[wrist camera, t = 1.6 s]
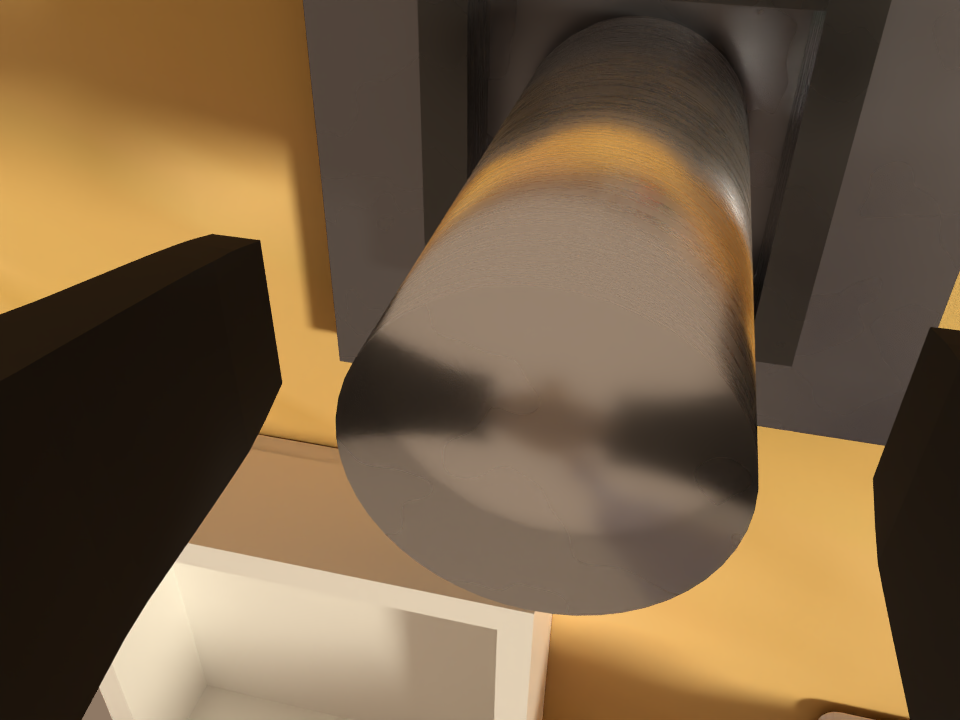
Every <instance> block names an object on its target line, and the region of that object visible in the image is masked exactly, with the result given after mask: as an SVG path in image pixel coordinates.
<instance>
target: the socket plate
mask: <svg viewBox="0 0 960 720" xmlns="http://www.w3.org/2000/svg"><path fill="white" fill-rule="evenodd" d="M303 6H304V16H305V26H306V35H307V45H308V55H309V65H310V74H311V84H312V94H313V104H314V113H315V123H316V133H317V143H318V152H319V162H320V172H321V181H322V191H323V201H324V211H325V220H326V230H327V240H328V250H329V259H330V269H331V279H332V289H333V298H334V308H335V318H336V327H337V337H338V347H339V357H340V361H344V362H351V363H353V361H354V360H355V358H356V356H357V355H358V353H359V352H360V350H361V348H362V347H363V345H364V344H365V342H366V340H367V339H368V337H369V336H370V334H371V333H372V331H373V329H374V328H375V326H376V325H377V323H378V321H379V320H380V318H381V317H382V315H383V313H384V312H385V310H386V309H387V307H388V306H389V304H390V302H391V301H392V299H393V298H394V296H395V294H396V293H397V291H398V290H399V288H400V286H401V285H402V283H403V282H404V280H405V278H406V277H407V275H408V274H409V272H410V271H411V269H412V267H413V266H414V264H415V263H416V261H417V259H418V258H419V256H420V255H421V253H422V251H423V250H424V248H425V247H426V245H427V244H428V242H429V240H430V239H431V237H432V236H433V234H434V232H435V231H436V229H437V228H438V226H439V224H440V223H441V221H442V220H443V218H444V216H445V215H446V213H447V212H448V210H449V209H450V207H451V205H452V204H453V202H454V201H455V199H456V197H457V196H458V194H459V193H460V191H461V189H462V188H463V186H464V185H465V183H466V182H467V180H468V178H469V177H470V175H471V174H472V172H473V170H474V169H475V167H476V166H477V164H478V162H479V161H480V159H481V158H482V156H483V154H484V153H485V151H486V150H487V148H488V147H489V145H490V143H491V142H492V140H493V139H494V137H495V135H496V134H497V132H498V131H499V129H500V127H501V126H502V124H503V123H504V121H505V120H506V118H507V116H508V115H509V113H510V112H511V110H512V108H513V107H514V105H515V104H516V102H517V100H518V99H519V97H520V96H521V94H522V92H523V91H524V89H525V88H526V86H527V85H528V83H529V81H530V80H531V78H532V77H533V75H534V73H535V72H536V70H537V69H538V67H539V66H540V65H541V63H542V62H543V61H544V59H545V58H546V57H547V56H548V55H549V54H550V53H551V52H552V51H553V50H554V49H555V48H556V46H558V45H559V44H560V43H562V42H563V41H564V40H565V39H567V38H568V37H569V36H571V35H573V34H574V33H576V32H578V31H579V30H581V29H583V28H585V27H588V26H590V25H593V24H595V23H598V22H601V21H605V20H609V19H612V18H620V17H627V16H644V17H652V18H659V19H663V20H667V21H670V22H674V23H677V24H679V25H681V26H683V27H686V28H688V29H690V30H692V31H693V32H695V33H697V34H698V35H700V36H701V37H703V38H704V39H706V40H707V41H708V42H709V43H710V44H712V45H713V46H714V47H715V48H716V49H717V50H718V51H719V52H720V53H721V54H722V55H723V57H724V58H725V59H726V60H727V61H728V63H729V64H730V66H731V67H732V69H733V70H734V72H735V74H736V76H737V78H738V80H739V82H740V84H741V86H742V89H743V93H744V96H745V99H746V104H747V110H748V117H749V154H750V190H751V227H752V263H753V300H754V336H755V373H756V409H757V426H762V427H768V428H775V429H781V430H788V431H794V432H800V433H807V434H813V435H820V436H826V437H833V438H839V439H845V440H852V441H858V442H865V443H871V444H878V445H884V446H885V445H886V443H887V440H888V437H889V435H890V432H891V429H892V427H893V424H894V421H895V419H896V416H897V413H898V411H899V408H900V405H901V403H902V400H903V398H904V395H905V392H906V390H907V387H908V384H909V382H910V379H911V376H912V374H913V371H914V368H915V366H916V363H917V360H918V358H919V355H920V352H921V350H922V347H923V344H924V342H925V339H926V336H927V334H928V331H929V328H930V327H936V328H938V326H939V323H940V321H941V318H942V316H943V313H944V310H945V308H946V305H947V302H948V300H949V297H950V295H951V292H952V289H953V287H954V284H955V281H956V279H957V276H958V274H959V271H960V0H303Z"/></svg>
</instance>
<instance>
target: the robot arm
mask: <svg viewBox="0 0 960 720" xmlns="http://www.w3.org/2000/svg"><path fill="white" fill-rule="evenodd" d="M281 385H282V378H281V372H280V365H279V359H278V352H277V346H276V339H275V333H274V327H273V320H272V314H271V307H270V301H269V294H268V288H267V282H266V275H265V269H264V262H263V256H262V249H261V243H260V240H254V239H246V238H238V237H231V236H223V235H215V234H210V235H207V236H203V237H199V238H196V239H192V240H189V241H186V242H183V243H180V244H177V245H175V246H172V247H169V248H166V249H164V250H161V251H158V252H156V253H153V254H151V255H148V256H146V257H143V258H141V259H138V260H136V261H133V262H131V263H128V264H126V265H123V266H121V267H118V268H116V269H114V270H111V271H109V272H106V273H104V274H101V275H99V276H96V277H94V278H92V279H89V280H87V281H84V282H82V283H79V284H77V285H74V286H72V287H70V288H67V289H65V290H62V291H60V292H57V293H55V294H52V295H50V296H48V297H45V298H43V299H40V300H38V301H35V302H32V303H30V304H27V305H24V306H22V307H19V308H16V309H14V310H11V311H8V312H6V313H3V314H0V720H82V718H83V716H84V714H85V712H86V710H87V708H88V706H89V705H90V703H91V701H92V699H93V697H94V695H95V694H96V692H97V690H98V688H99V686H100V684H101V682H102V681H103V679H104V677H105V675H106V673H107V671H108V669H109V668H110V666H111V664H112V662H113V660H114V658H115V656H116V655H117V653H118V651H119V649H120V647H121V645H122V643H123V642H124V640H125V638H126V636H127V635H128V633H129V631H130V630H131V628H132V626H133V625H134V623H135V622H136V620H137V618H138V617H139V615H140V614H141V612H142V610H143V609H144V607H145V606H146V604H147V602H148V601H149V599H150V598H151V596H152V595H153V593H154V592H155V591H156V589H157V588H158V586H159V585H160V583H161V582H162V580H163V579H164V577H165V576H166V574H167V573H168V572H169V570H170V569H171V567H172V566H173V564H174V563H175V561H176V560H177V558H178V557H179V555H180V554H181V553H182V551H183V550H184V548H185V547H186V545H187V544H188V542H189V541H190V539H191V538H192V536H193V535H194V534H195V532H196V531H197V529H198V528H199V526H200V525H201V523H202V522H203V520H204V519H205V518H206V516H207V515H208V513H209V512H210V510H211V509H212V507H213V506H214V504H215V503H216V501H217V500H218V498H219V497H220V495H221V494H222V492H223V491H224V489H225V488H226V486H227V485H228V483H229V482H230V480H231V479H232V477H233V476H234V474H235V473H236V471H237V470H238V468H239V467H240V465H241V464H242V462H243V461H244V459H245V458H246V456H247V455H248V453H249V451H250V450H251V448H252V446H253V444H254V442H255V440H256V438H257V436H258V434H259V432H260V430H261V428H262V426H263V424H264V422H265V420H266V418H267V415H268V413H269V411H270V409H271V407H272V404H273V402H274V400H275V398H276V396H277V394H278V391H279V389H280V387H281ZM873 489H874V511H875V530H876V544H877V557H878V566H879V572H880V577H881V582H882V587H883V592H884V597H885V602H886V607H887V612H888V617H889V622H890V627H891V632H892V636H893V641H894V646H895V651H896V655H897V660H898V665H899V669H900V674H901V679H902V684H903V688H904V693H905V698H906V702H907V707H908V712H909V717H910V720H960V331H959V330H951V329H943V328H936V327H930V328H929V331H928V334H927V336H926V339H925V342H924V344H923V347H922V350H921V352H920V355H919V358H918V360H917V363H916V366H915V368H914V371H913V374H912V376H911V379H910V382H909V384H908V387H907V390H906V392H905V395H904V398H903V400H902V403H901V405H900V408H899V411H898V413H897V416H896V419H895V421H894V424H893V427H892V429H891V432H890V435H889V437H888V440H887V443H886V445H885V448H884V451H883V453H882V456H881V459H880V461H879V464H878V467H877V469H876V472H875V475H874V477H873ZM818 720H874V719H870V718H865V717H860V716H856V715H851V714H846V713H841V712H829V713H826V714H824V715H822V716H821V717H820V718H819V719H818Z"/></svg>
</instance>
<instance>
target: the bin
mask: <svg viewBox="0 0 960 720" xmlns="http://www.w3.org/2000/svg"><path fill="white" fill-rule="evenodd" d="M551 621H552V614H549V613H543V612H537V611H531V610H525V609H521V608H517V607H513V606H509V605H505V604H502V603H499V602H496V601H493V600H490V599H487V598H484V597H481V596H479V595H476V594H474V593H472V592H469V591H467V590H465V589H462V588H460V587H458V586H456V585H454V584H452V583H450V582H449V581H447V580H445V579H443V578H441V577H439V576H438V575H436V574H434V573H433V572H431V571H430V570H428V569H427V568H425V567H424V566H422V565H421V564H419V563H418V562H416V561H415V560H414V559H413V558H411V557H410V556H409V555H408V554H406V553H405V552H404V551H403V550H401V549H400V548H399V547H398V546H397V545H396V544H395V543H394V542H393V541H392V540H391V539H390V538H389V537H388V536H386V535H385V534H384V533H383V532H382V530H381V529H380V528H379V527H378V526H377V524H376V523H375V522H374V521H373V520H372V518H371V517H370V516H369V515H368V513H367V512H366V510H365V509H364V507H363V506H362V504H361V503H360V501H359V500H358V498H357V497H356V495H355V493H354V491H353V489H352V487H351V485H350V483H349V481H348V479H347V476H346V473H345V471H344V468H343V465H342V462H341V459H340V454H339V449H337V448H332V447H326V446H320V445H315V444H309V443H303V442H298V441H292V440H286V439H281V438H275V437H269V436H264V435H258V436H257V438H256V440H255V442H254V444H253V446H252V448H251V450H250V451H249V453H248V455H247V456H246V458H245V459H244V461H243V462H242V464H241V465H240V467H239V468H238V470H237V471H236V473H235V474H234V476H233V477H232V479H231V480H230V482H229V483H228V485H227V486H226V488H225V489H224V491H223V492H222V494H221V495H220V497H219V498H218V500H217V501H216V503H215V504H214V506H213V507H212V509H211V510H210V512H209V513H208V515H207V516H206V518H205V519H204V520H203V522H202V523H201V525H200V526H199V528H198V529H197V531H196V532H195V534H194V535H193V536H192V538H191V539H190V541H189V542H188V544H187V545H186V547H185V548H184V550H183V551H182V553H181V554H180V555H179V557H178V558H177V560H176V561H175V563H174V564H173V566H172V567H171V569H170V570H169V572H168V573H167V574H166V576H165V577H164V579H163V580H162V582H161V583H160V585H159V586H158V588H157V589H156V591H155V592H154V593H153V595H152V596H151V598H150V599H149V601H148V602H147V604H146V606H145V607H144V609H143V610H142V612H141V614H140V615H139V617H138V618H137V620H136V622H135V623H134V625H133V626H132V628H131V630H130V631H129V633H128V635H127V636H126V638H125V640H124V642H123V643H122V645H121V647H120V649H119V651H118V653H117V655H116V656H115V658H114V660H113V662H112V664H111V666H110V668H109V669H108V671H107V673H106V675H105V677H104V679H103V681H102V682H101V684H100V686H99V688H100V691H101V693H102V696H103V698H104V701H105V703H106V705H107V708H108V710H109V713H110V715H111V717H112V720H542V719H543V708H544V697H545V687H546V676H547V665H548V654H549V643H550V632H551Z"/></svg>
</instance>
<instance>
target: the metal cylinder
mask: <svg viewBox="0 0 960 720" xmlns="http://www.w3.org/2000/svg"><path fill="white" fill-rule="evenodd" d="M336 439H337V444H338V449H339V454H340V459H341V462H342V465H343V468H344V471H345V473H346V476H347V479H348V481H349V483H350V485H351V487H352V489H353V491H354V493H355V495H356V497H357V498H358V500H359V501H360V503H361V504H362V506H363V507H364V509H365V510H366V512H367V513H368V515H369V516H370V517H371V518H372V520H373V521H374V522H375V523H376V524H377V526H378V527H379V528H380V529H381V530H382V532H383V533H384V534H385V535H386V536H388V537H389V538H390V539H391V540H392V541H393V542H394V543H395V544H396V545H397V546H398V547H399V548H400V549H401V550H403V551H404V552H405V553H406V554H408V555H409V556H410V557H411V558H413V559H414V560H415V561H416V562H418V563H419V564H421V565H422V566H424V567H425V568H427V569H428V570H430V571H431V572H433V573H434V574H436V575H438V576H439V577H441V578H443V579H445V580H447V581H449V582H450V583H452V584H454V585H456V586H458V587H460V588H462V589H465V590H467V591H469V592H472V593H474V594H476V595H479V596H481V597H484V598H487V599H490V600H493V601H496V602H499V603H502V604H505V605H509V606H513V607H517V608H521V609H525V610H531V611H537V612H543V613H549V614H561V615H605V614H614V613H623V612H627V611H632V610H637V609H641V608H646V607H649V606H652V605H655V604H658V603H661V602H664V601H667V600H669V599H671V598H673V597H676V596H678V595H680V594H682V593H684V592H686V591H688V590H690V589H691V588H693V587H694V586H696V585H698V584H699V583H701V582H702V581H704V580H705V579H707V578H708V577H709V576H710V575H711V574H713V573H714V572H715V571H716V570H717V569H718V568H720V567H721V566H722V565H723V564H724V563H725V561H726V560H727V559H728V558H729V557H730V556H731V554H732V553H733V552H734V551H735V550H736V548H737V547H738V545H739V543H740V542H741V540H742V538H743V537H744V535H745V533H746V532H747V529H748V527H749V524H750V521H751V519H752V516H753V513H754V511H755V505H756V499H757V494H758V446H757V409H756V373H755V336H754V300H753V263H752V227H751V190H750V154H749V117H748V110H747V104H746V99H745V96H744V93H743V89H742V86H741V84H740V82H739V80H738V78H737V76H736V74H735V72H734V70H733V69H732V67H731V66H730V64H729V63H728V61H727V60H726V59H725V58H724V57H723V55H722V54H721V53H720V52H719V51H718V50H717V49H716V48H715V47H714V46H713V45H712V44H710V43H709V42H708V41H707V40H706V39H704V38H703V37H701V36H700V35H698V34H697V33H695V32H693V31H692V30H690V29H688V28H686V27H683V26H681V25H679V24H677V23H674V22H670V21H667V20H663V19H659V18H652V17H644V16H627V17H620V18H612V19H609V20H605V21H601V22H598V23H595V24H593V25H590V26H588V27H585V28H583V29H581V30H579V31H578V32H576V33H574V34H573V35H571V36H569V37H568V38H567V39H565V40H564V41H563V42H562V43H560V44H559V45H558V46H556V48H555V49H554V50H553V51H552V52H551V53H550V54H549V55H548V56H547V57H546V58H545V59H544V61H543V62H542V63H541V65H540V66H539V67H538V69H537V70H536V72H535V73H534V75H533V77H532V78H531V80H530V81H529V83H528V85H527V86H526V88H525V89H524V91H523V92H522V94H521V96H520V97H519V99H518V100H517V102H516V104H515V105H514V107H513V108H512V110H511V112H510V113H509V115H508V116H507V118H506V120H505V121H504V123H503V124H502V126H501V127H500V129H499V131H498V132H497V134H496V135H495V137H494V139H493V140H492V142H491V143H490V145H489V147H488V148H487V150H486V151H485V153H484V154H483V156H482V158H481V159H480V161H479V162H478V164H477V166H476V167H475V169H474V170H473V172H472V174H471V175H470V177H469V178H468V180H467V182H466V183H465V185H464V186H463V188H462V189H461V191H460V193H459V194H458V196H457V197H456V199H455V201H454V202H453V204H452V205H451V207H450V209H449V210H448V212H447V213H446V215H445V216H444V218H443V220H442V221H441V223H440V224H439V226H438V228H437V229H436V231H435V232H434V234H433V236H432V237H431V239H430V240H429V242H428V244H427V245H426V247H425V248H424V250H423V251H422V253H421V255H420V256H419V258H418V259H417V261H416V263H415V264H414V266H413V267H412V269H411V271H410V272H409V274H408V275H407V277H406V278H405V280H404V282H403V283H402V285H401V286H400V288H399V290H398V291H397V293H396V294H395V296H394V298H393V299H392V301H391V302H390V304H389V306H388V307H387V309H386V310H385V312H384V313H383V315H382V317H381V318H380V320H379V321H378V323H377V325H376V326H375V328H374V329H373V331H372V333H371V334H370V336H369V337H368V339H367V340H366V342H365V344H364V345H363V347H362V348H361V350H360V352H359V353H358V355H357V356H356V358H355V360H354V361H353V363H352V365H351V367H350V369H349V371H348V373H347V375H346V377H345V379H344V382H343V385H342V388H341V391H340V394H339V398H338V405H337V412H336Z"/></svg>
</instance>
